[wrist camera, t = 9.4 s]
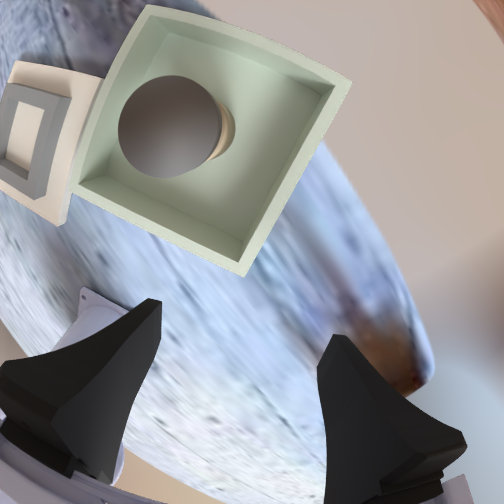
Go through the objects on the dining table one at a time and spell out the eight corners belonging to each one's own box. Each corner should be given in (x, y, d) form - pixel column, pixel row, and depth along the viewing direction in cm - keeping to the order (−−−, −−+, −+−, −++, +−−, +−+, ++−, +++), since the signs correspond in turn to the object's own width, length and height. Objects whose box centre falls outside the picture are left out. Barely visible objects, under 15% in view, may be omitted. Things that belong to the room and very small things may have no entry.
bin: (247, 250, 20) (244, 277, 16) (99, 179, 18) (67, 190, 14) (334, 93, 15) (353, 82, 11) (167, 25, 13) (146, 4, 10)
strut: (246, 149, 16) (231, 156, 10) (184, 170, 17) (137, 192, 11) (225, 88, 15) (198, 59, 8) (163, 112, 15) (106, 103, 9)
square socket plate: (66, 222, 19) (46, 233, 17) (-6, 177, 17) (-24, 183, 15) (109, 80, 15) (89, 75, 12) (23, 61, 13) (4, 59, 11)
